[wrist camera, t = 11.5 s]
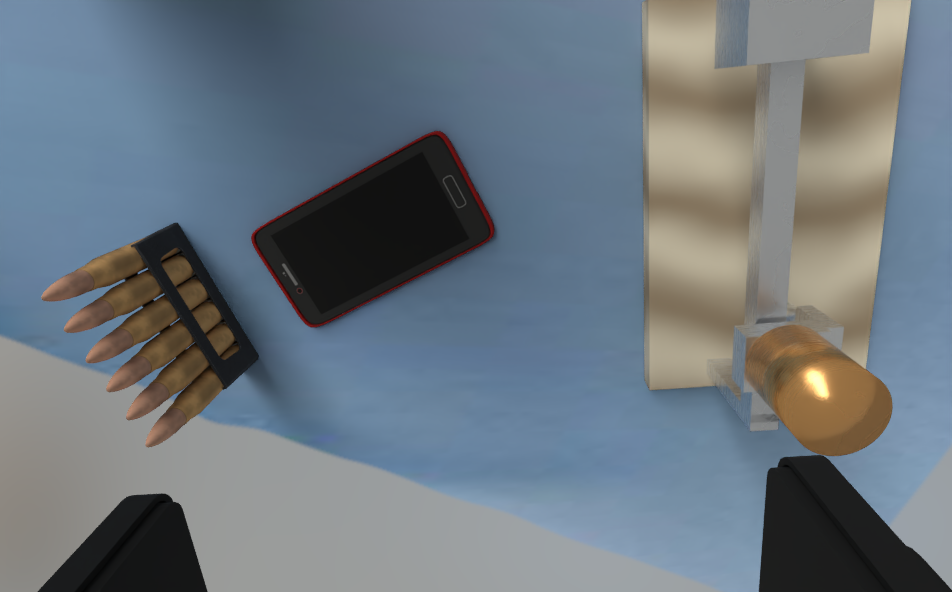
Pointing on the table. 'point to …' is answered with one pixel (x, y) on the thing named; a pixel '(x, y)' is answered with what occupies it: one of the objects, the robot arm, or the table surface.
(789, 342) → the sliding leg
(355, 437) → the table surface
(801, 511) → the robot arm
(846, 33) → the frame
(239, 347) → the ammunition clip
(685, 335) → the hole plate
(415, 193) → the cell phone
